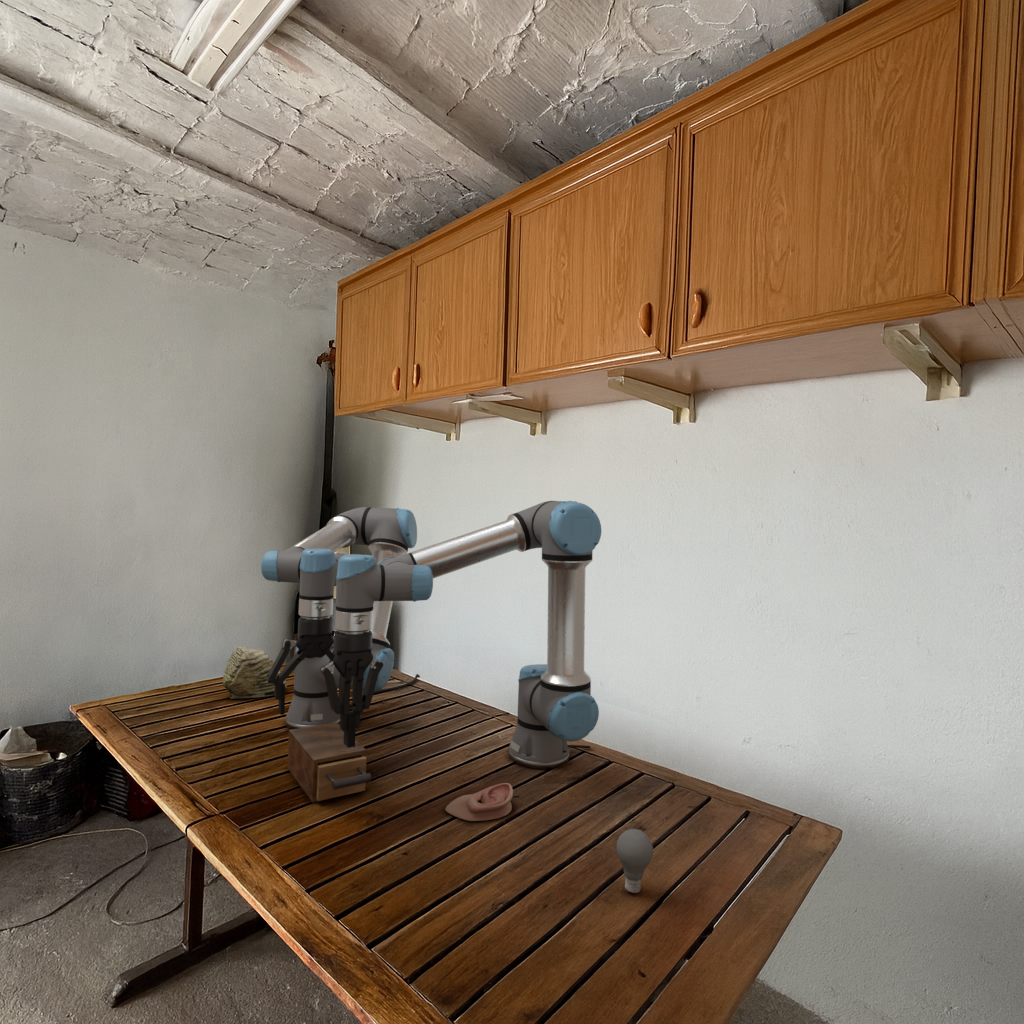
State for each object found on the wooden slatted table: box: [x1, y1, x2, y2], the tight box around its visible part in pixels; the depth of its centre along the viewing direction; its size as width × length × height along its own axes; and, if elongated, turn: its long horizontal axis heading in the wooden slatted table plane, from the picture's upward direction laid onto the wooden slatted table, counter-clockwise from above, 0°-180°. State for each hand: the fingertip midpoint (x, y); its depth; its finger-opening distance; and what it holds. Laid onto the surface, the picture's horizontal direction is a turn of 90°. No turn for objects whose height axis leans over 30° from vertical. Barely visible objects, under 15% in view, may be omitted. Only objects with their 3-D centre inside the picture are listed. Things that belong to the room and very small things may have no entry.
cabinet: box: [287, 722, 367, 803], centre depth 142 cm, size 19×11×9 cm, turn 34°
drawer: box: [316, 756, 372, 802], centre depth 137 cm, size 24×10×7 cm, turn 34°
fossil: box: [222, 646, 288, 699], centre depth 198 cm, size 9×18×15 cm, turn 132°
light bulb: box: [615, 828, 654, 894], centre depth 106 cm, size 6×6×10 cm
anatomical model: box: [444, 782, 514, 822], centre depth 131 cm, size 13×4×12 cm
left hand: (312, 708), depth 145 cm, fingers open, 13 cm apart
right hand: (349, 744), depth 130 cm, fingers closed
